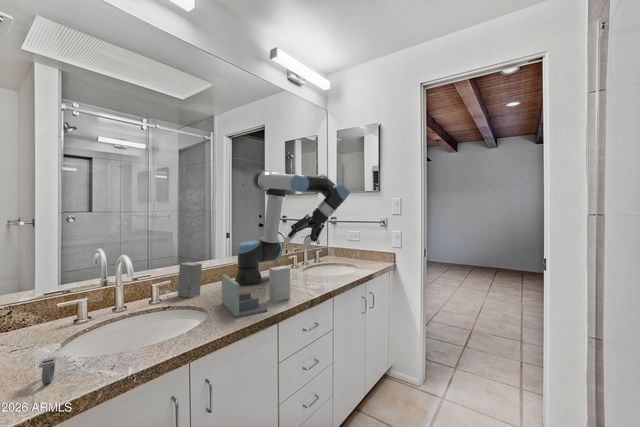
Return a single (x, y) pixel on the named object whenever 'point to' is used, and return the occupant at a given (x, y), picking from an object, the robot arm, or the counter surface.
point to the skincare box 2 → (279, 283)
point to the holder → (238, 299)
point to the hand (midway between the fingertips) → (293, 246)
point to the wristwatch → (48, 369)
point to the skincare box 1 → (189, 279)
